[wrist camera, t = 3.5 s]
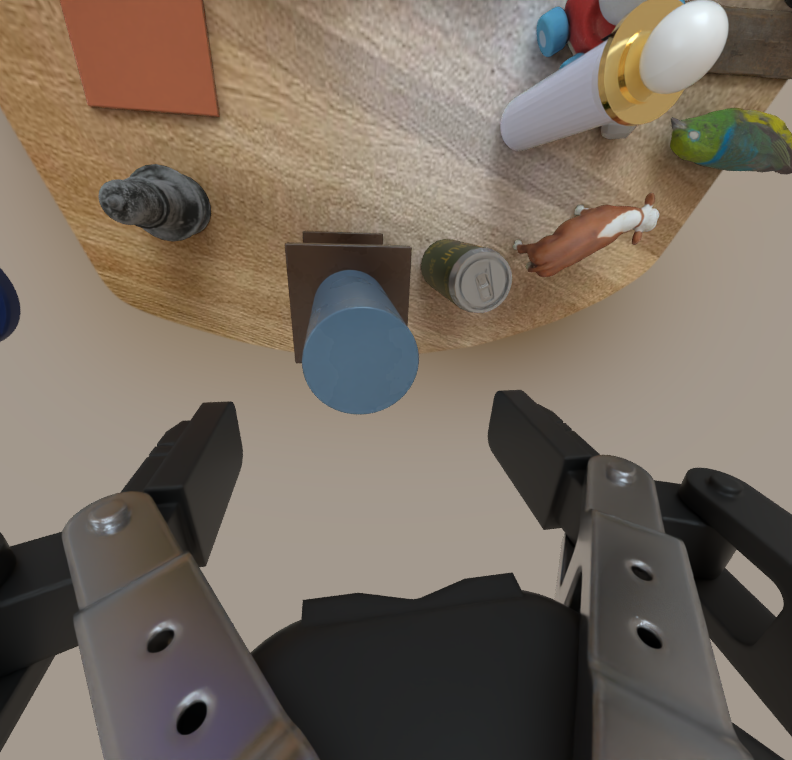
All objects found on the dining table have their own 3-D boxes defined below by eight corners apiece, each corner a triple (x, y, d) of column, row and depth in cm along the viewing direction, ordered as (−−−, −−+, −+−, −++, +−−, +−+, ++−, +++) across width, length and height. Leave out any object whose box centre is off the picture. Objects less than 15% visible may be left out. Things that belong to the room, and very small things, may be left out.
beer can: (471, 277, 41) (520, 299, 30) (428, 296, 41) (462, 325, 30) (457, 230, 38) (506, 237, 28) (412, 250, 38) (443, 265, 28)
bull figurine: (615, 227, 41) (676, 230, 34) (509, 276, 41) (546, 289, 34) (611, 187, 39) (675, 182, 32) (499, 239, 39) (537, 245, 32)
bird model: (702, 90, 32) (682, 154, 34) (874, 115, 35) (847, 174, 36) (656, 110, 37) (641, 165, 39) (810, 131, 39) (789, 181, 41)
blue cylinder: (315, 343, 25) (306, 417, 16) (311, 269, 23) (297, 306, 14) (386, 342, 25) (415, 412, 17) (388, 270, 23) (423, 306, 14)
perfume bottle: (510, 172, 37) (680, 135, 19) (480, 119, 34) (642, 19, 16) (556, 130, 36) (781, 47, 18) (528, 72, 33) (757, -90, 15)
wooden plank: (846, 13, 34) (823, 77, 36) (829, 21, 36) (808, 82, 37) (695, 2, 32) (679, 71, 34) (683, 10, 34) (668, 76, 35)
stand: (308, 308, 39) (295, 363, 25) (303, 230, 36) (284, 243, 22) (380, 308, 41) (405, 360, 26) (381, 233, 37) (411, 246, 23)
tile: (92, 107, 29) (87, 105, 29) (56, -27, 26) (50, -32, 25) (220, 117, 31) (217, 115, 30) (202, -8, 28) (199, -12, 27)
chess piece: (132, 178, 32) (30, 161, 21) (196, 161, 32) (127, 136, 21) (166, 245, 34) (91, 260, 24) (225, 229, 35) (177, 238, 24)
